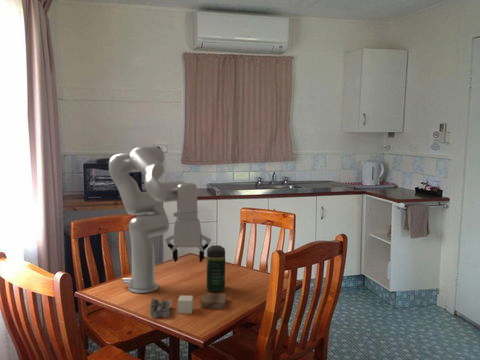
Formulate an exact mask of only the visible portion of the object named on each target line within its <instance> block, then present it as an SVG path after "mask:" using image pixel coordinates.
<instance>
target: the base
mask: <svg viewBox="0 0 480 360" xmlns="http://www.w3.org/2000/svg"><path fill="white" fill-rule="evenodd" d="M226 304H227V293H203V296H202V299H201V300H200V309H205V310H211V309H213V310H225V308H226Z"/></svg>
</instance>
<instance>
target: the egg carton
mask: <svg viewBox="0 0 480 360" xmlns="http://www.w3.org/2000/svg"><path fill="white" fill-rule="evenodd" d="M171 304H172V300H167V299H166V300H163V299H162V300H161V301H160V302H159V300H158V299H157V298H154V297H152V298H151V301H150V305H149V306H150V307H149V313H150V317H152V318H153V319H157V318H160V317H162V318H167V317H169V316H170V309H171ZM155 308H156V310H155Z"/></svg>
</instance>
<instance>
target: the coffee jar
mask: <svg viewBox="0 0 480 360" xmlns="http://www.w3.org/2000/svg"><path fill="white" fill-rule="evenodd" d="M225 280H226V249H225V247H223V246H222V245H213V244H212V245H211V246H208V247H207V249H206V290H207V291H208V292H213V293H218V292H223V291H225V288H226V287H225V285H226V281H225Z"/></svg>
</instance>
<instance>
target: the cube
mask: <svg viewBox="0 0 480 360" xmlns="http://www.w3.org/2000/svg"><path fill="white" fill-rule="evenodd" d="M193 310H194V295H179V297H178V299H177V314H190V315H191V314H192V312H193Z"/></svg>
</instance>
